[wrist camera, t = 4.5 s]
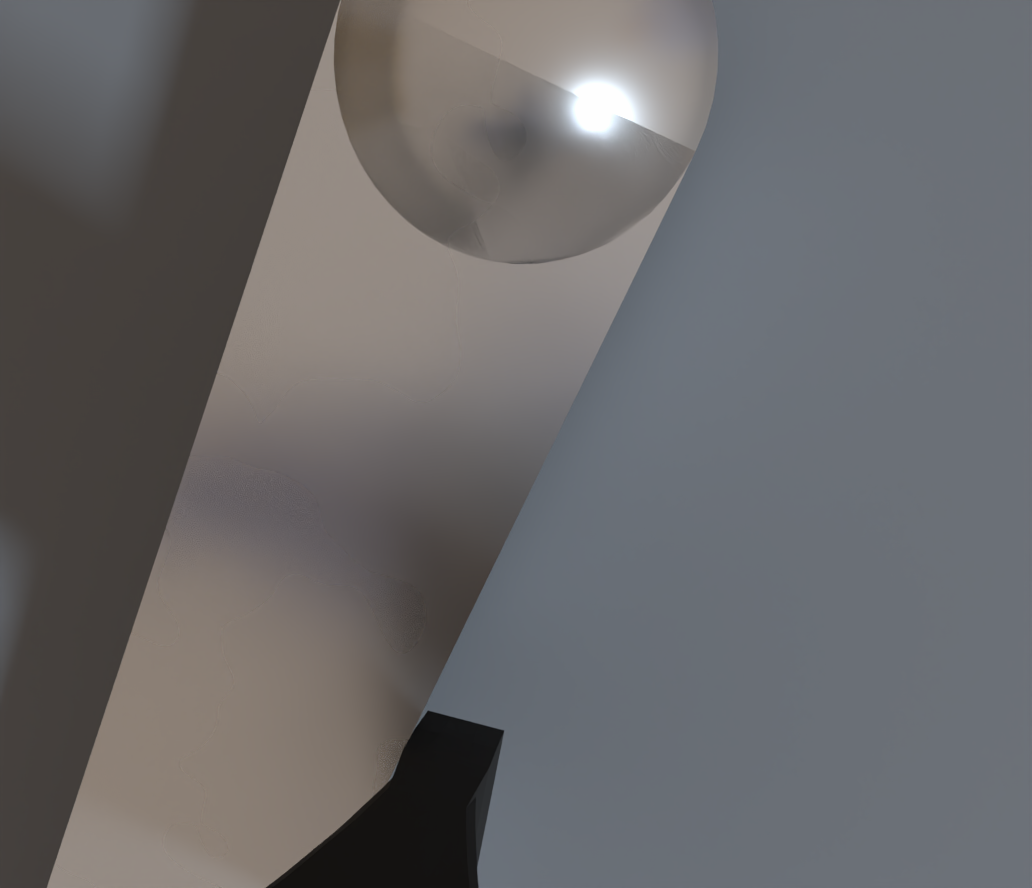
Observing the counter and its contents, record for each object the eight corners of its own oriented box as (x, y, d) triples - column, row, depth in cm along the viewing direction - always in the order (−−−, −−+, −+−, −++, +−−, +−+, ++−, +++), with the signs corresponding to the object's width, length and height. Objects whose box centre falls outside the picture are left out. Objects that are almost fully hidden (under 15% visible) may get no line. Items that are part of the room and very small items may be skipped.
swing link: (183, 1270, 16) (115, 1419, 14) (-29, 1161, 16) (-123, 1294, 15) (825, 9, 9) (859, -21, 7) (426, -175, 9) (352, -256, 7)
